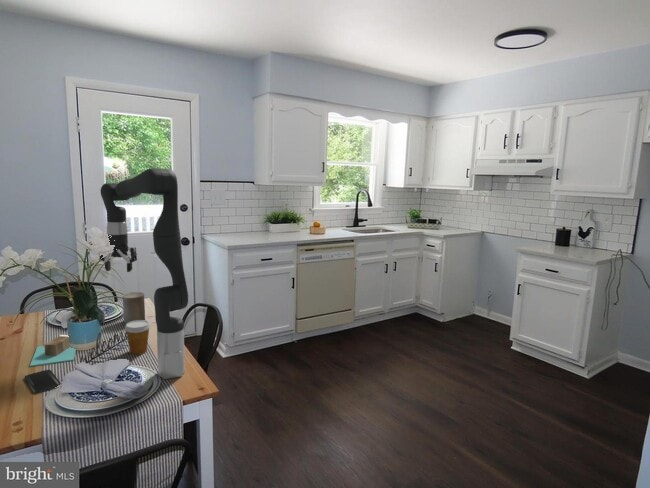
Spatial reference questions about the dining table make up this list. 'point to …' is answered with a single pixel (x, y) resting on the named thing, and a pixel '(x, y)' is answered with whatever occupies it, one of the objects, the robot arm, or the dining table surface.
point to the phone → (42, 381)
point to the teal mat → (51, 357)
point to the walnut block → (57, 345)
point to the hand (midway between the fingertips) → (118, 271)
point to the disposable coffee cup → (137, 336)
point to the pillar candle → (133, 307)
